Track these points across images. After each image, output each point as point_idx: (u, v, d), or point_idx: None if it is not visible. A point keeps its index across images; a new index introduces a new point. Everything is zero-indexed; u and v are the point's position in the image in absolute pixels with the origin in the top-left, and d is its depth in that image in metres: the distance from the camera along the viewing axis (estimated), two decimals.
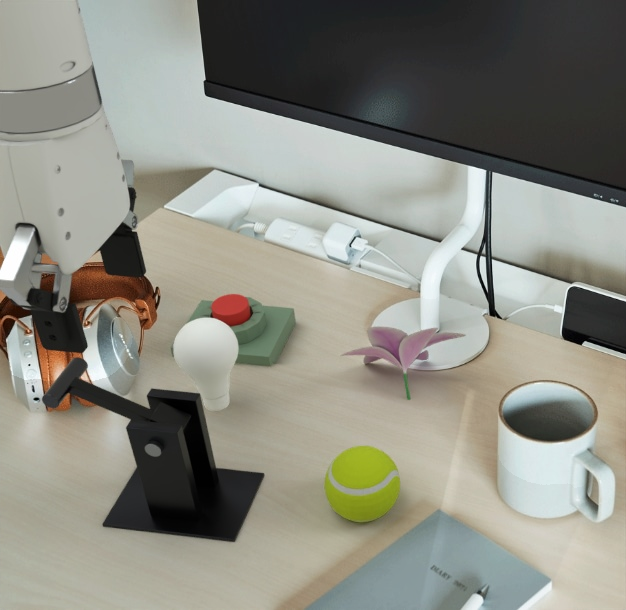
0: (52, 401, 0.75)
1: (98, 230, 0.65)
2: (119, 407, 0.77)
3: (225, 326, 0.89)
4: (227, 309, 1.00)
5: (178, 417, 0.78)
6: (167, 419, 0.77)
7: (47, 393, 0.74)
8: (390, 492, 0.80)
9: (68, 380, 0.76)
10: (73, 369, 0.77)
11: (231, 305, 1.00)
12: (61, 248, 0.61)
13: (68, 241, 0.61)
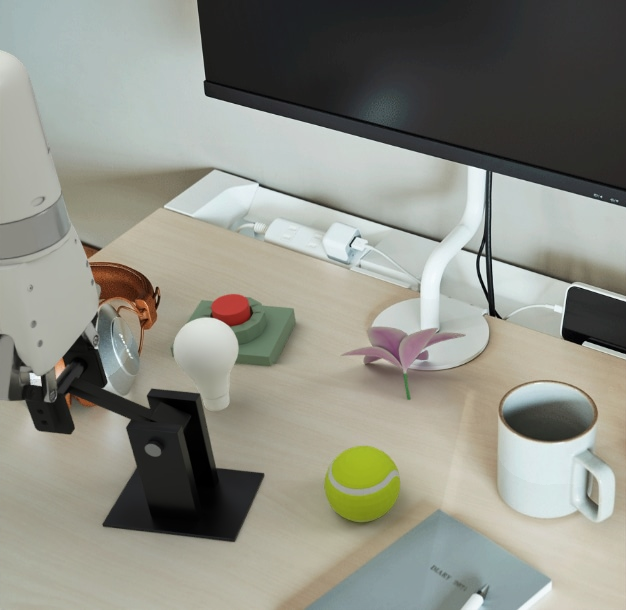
0: None
1: (68, 333, 0.72)
2: (119, 407, 0.77)
3: (225, 326, 0.89)
4: (227, 309, 1.00)
5: (178, 417, 0.78)
6: (167, 419, 0.77)
7: None
8: (390, 492, 0.80)
9: (68, 380, 0.76)
10: (73, 369, 0.77)
11: (231, 305, 1.00)
12: (34, 354, 0.69)
13: (40, 348, 0.69)
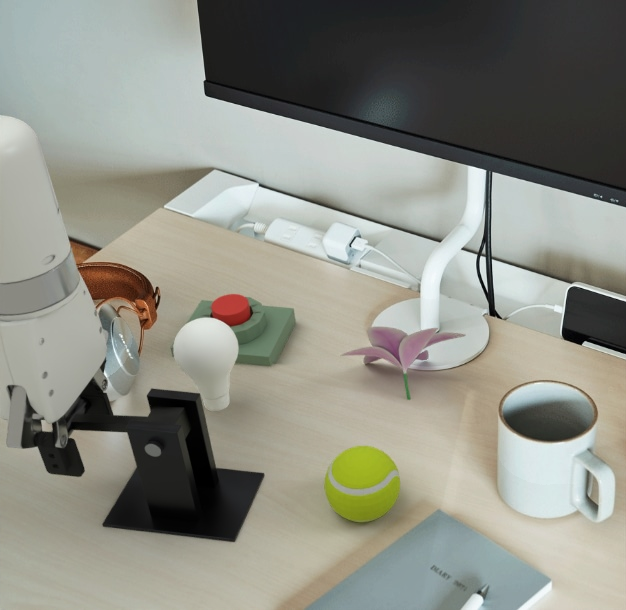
0: None
1: (78, 381, 0.75)
2: (118, 424, 0.78)
3: (225, 326, 0.89)
4: (227, 309, 1.00)
5: (171, 413, 0.78)
6: (160, 418, 0.77)
7: None
8: (390, 492, 0.80)
9: (68, 418, 0.79)
10: (73, 407, 0.80)
11: (231, 305, 1.00)
12: (46, 404, 0.72)
13: (51, 397, 0.72)
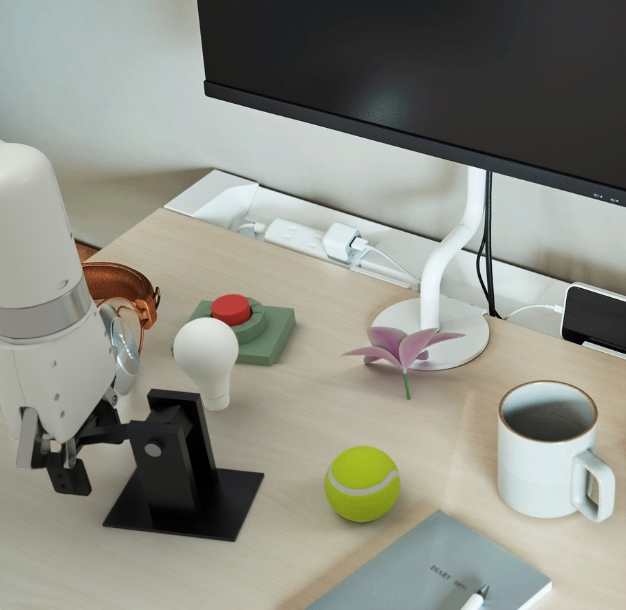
0: None
1: (88, 401, 0.77)
2: (121, 432, 0.79)
3: (225, 326, 0.89)
4: (227, 309, 1.00)
5: (168, 412, 0.78)
6: (157, 418, 0.77)
7: None
8: (390, 492, 0.80)
9: (76, 434, 0.80)
10: None
11: (231, 305, 1.00)
12: (57, 425, 0.73)
13: (63, 418, 0.73)
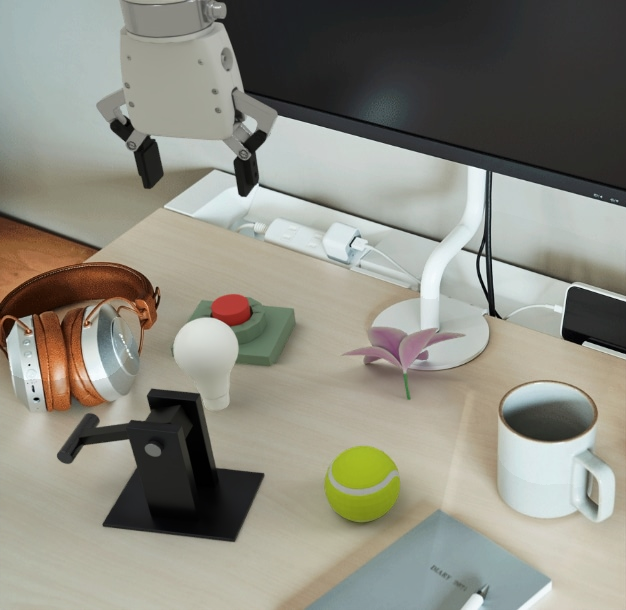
0: (65, 456, 0.78)
1: (169, 123, 0.84)
2: (121, 432, 0.79)
3: (225, 326, 0.89)
4: (227, 309, 1.00)
5: (168, 412, 0.78)
6: (157, 418, 0.77)
7: (58, 452, 0.78)
8: (390, 492, 0.80)
9: (76, 434, 0.80)
10: (80, 423, 0.81)
11: (231, 305, 1.00)
12: (127, 108, 0.85)
13: (132, 108, 0.84)
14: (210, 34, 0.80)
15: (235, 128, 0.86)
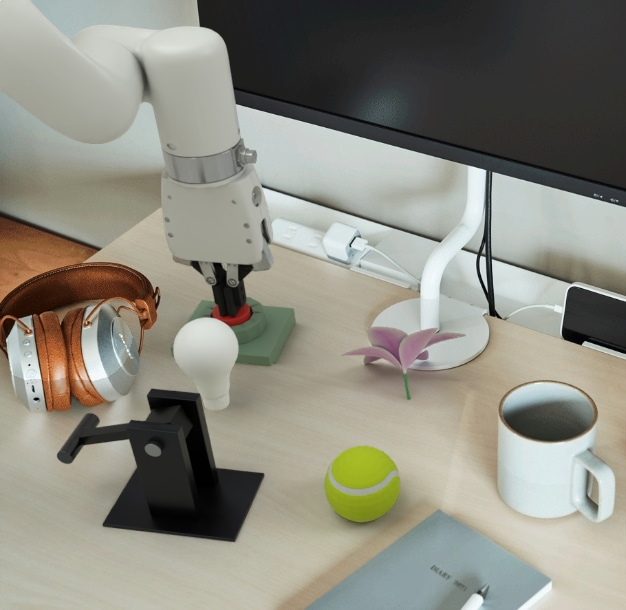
0: (65, 456, 0.78)
1: (204, 251, 0.94)
2: (121, 432, 0.79)
3: (225, 326, 0.89)
4: None
5: (168, 412, 0.78)
6: (157, 418, 0.77)
7: (58, 452, 0.78)
8: (390, 491, 0.80)
9: (76, 434, 0.80)
10: (80, 423, 0.81)
11: None
12: (166, 238, 0.94)
13: (170, 238, 0.94)
14: (242, 177, 0.90)
15: None
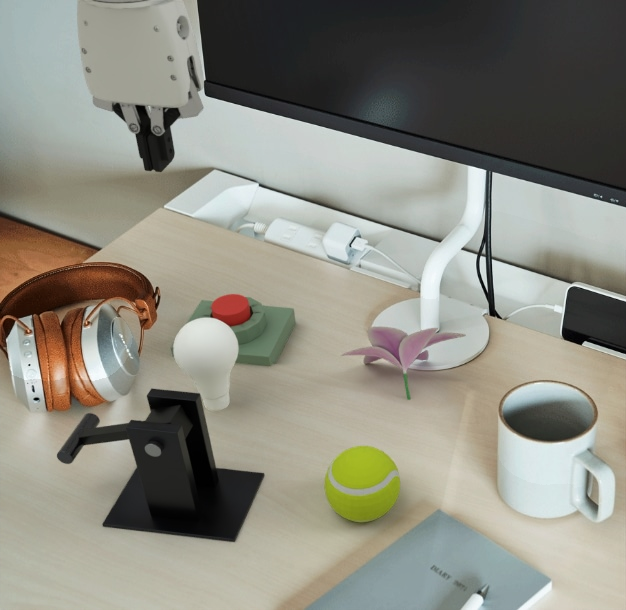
0: (65, 456, 0.78)
1: (125, 89, 0.86)
2: (121, 432, 0.79)
3: (225, 326, 0.89)
4: (227, 309, 1.00)
5: (168, 412, 0.78)
6: (157, 418, 0.77)
7: (58, 452, 0.78)
8: (390, 492, 0.80)
9: (76, 434, 0.80)
10: (80, 423, 0.81)
11: (231, 305, 1.00)
12: (84, 74, 0.86)
13: (88, 73, 0.86)
14: (166, 2, 0.82)
15: None
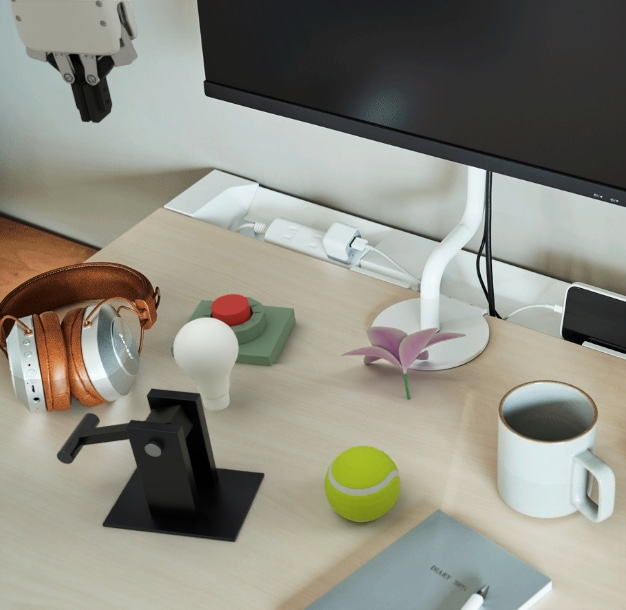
0: (65, 456, 0.78)
1: (56, 37, 0.86)
2: (121, 432, 0.79)
3: (225, 326, 0.89)
4: (227, 309, 1.00)
5: (168, 412, 0.78)
6: (157, 418, 0.77)
7: (58, 452, 0.78)
8: (390, 492, 0.80)
9: (76, 434, 0.80)
10: (80, 423, 0.81)
11: (231, 305, 1.00)
12: (15, 23, 0.86)
13: (19, 22, 0.86)
14: None
15: (101, 55, 0.89)
